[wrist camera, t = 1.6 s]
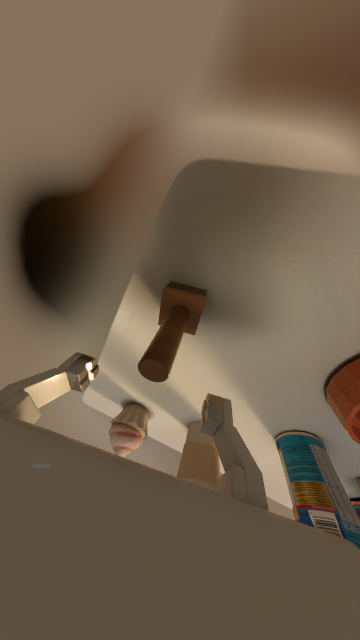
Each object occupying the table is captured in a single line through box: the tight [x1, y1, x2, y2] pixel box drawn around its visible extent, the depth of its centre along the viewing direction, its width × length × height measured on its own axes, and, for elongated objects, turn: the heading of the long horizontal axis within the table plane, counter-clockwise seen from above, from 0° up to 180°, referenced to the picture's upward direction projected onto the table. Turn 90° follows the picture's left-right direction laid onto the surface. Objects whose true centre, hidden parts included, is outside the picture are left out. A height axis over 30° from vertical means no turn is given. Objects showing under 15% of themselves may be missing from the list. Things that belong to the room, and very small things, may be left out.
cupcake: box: [109, 403, 149, 457], centre depth 36 cm, size 9×9×10 cm
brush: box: [138, 281, 207, 382], centre depth 16 cm, size 5×5×12 cm
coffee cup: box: [177, 422, 220, 492], centre depth 31 cm, size 9×9×15 cm
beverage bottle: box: [276, 432, 360, 549], centre depth 24 cm, size 8×8×20 cm
